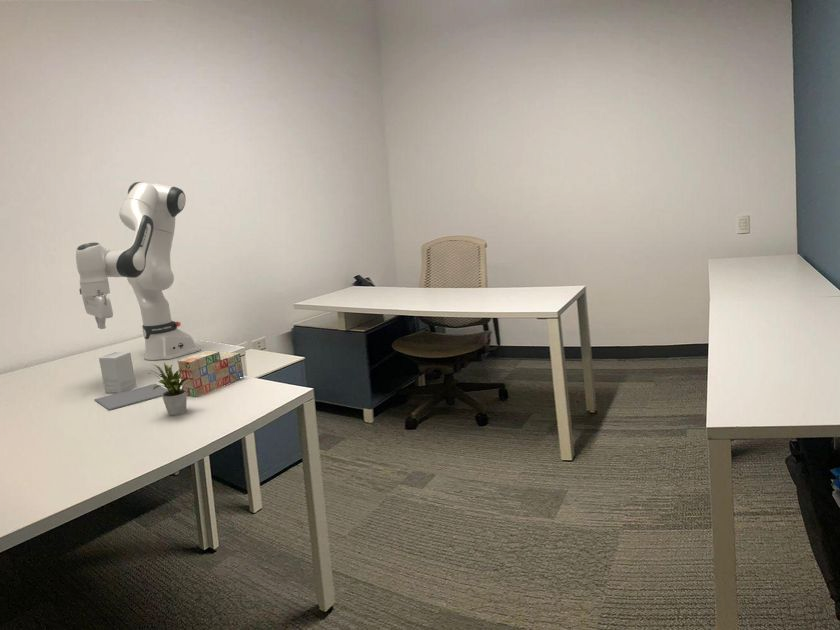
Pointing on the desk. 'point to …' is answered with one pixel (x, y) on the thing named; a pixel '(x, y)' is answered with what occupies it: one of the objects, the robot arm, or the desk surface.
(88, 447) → the desk surface
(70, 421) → the desk surface
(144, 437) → the desk surface
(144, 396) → the mat
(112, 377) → the supplement box
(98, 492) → the desk surface
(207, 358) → the stack of blocks
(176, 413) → the house plant
